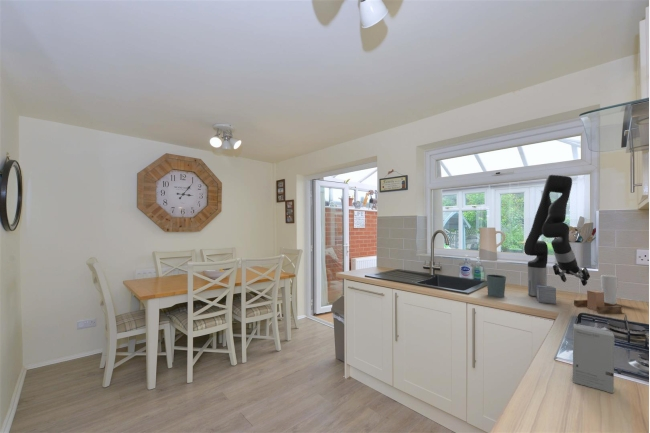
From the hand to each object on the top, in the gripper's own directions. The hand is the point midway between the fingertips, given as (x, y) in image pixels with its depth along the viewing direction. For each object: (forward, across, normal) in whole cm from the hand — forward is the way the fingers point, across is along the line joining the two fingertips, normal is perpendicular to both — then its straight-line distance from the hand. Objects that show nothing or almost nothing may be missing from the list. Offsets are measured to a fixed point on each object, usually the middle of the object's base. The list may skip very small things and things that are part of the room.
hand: (574, 282), depth 150 cm
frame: (+15, -6, 0) cm, 16 cm away
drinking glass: (+27, -3, -17) cm, 32 cm away
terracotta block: (+15, -6, 0) cm, 16 cm away
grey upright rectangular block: (-35, -42, +74) cm, 91 cm away
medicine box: (+12, +13, +8) cm, 19 cm away
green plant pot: (+6, +34, +18) cm, 39 cm away
